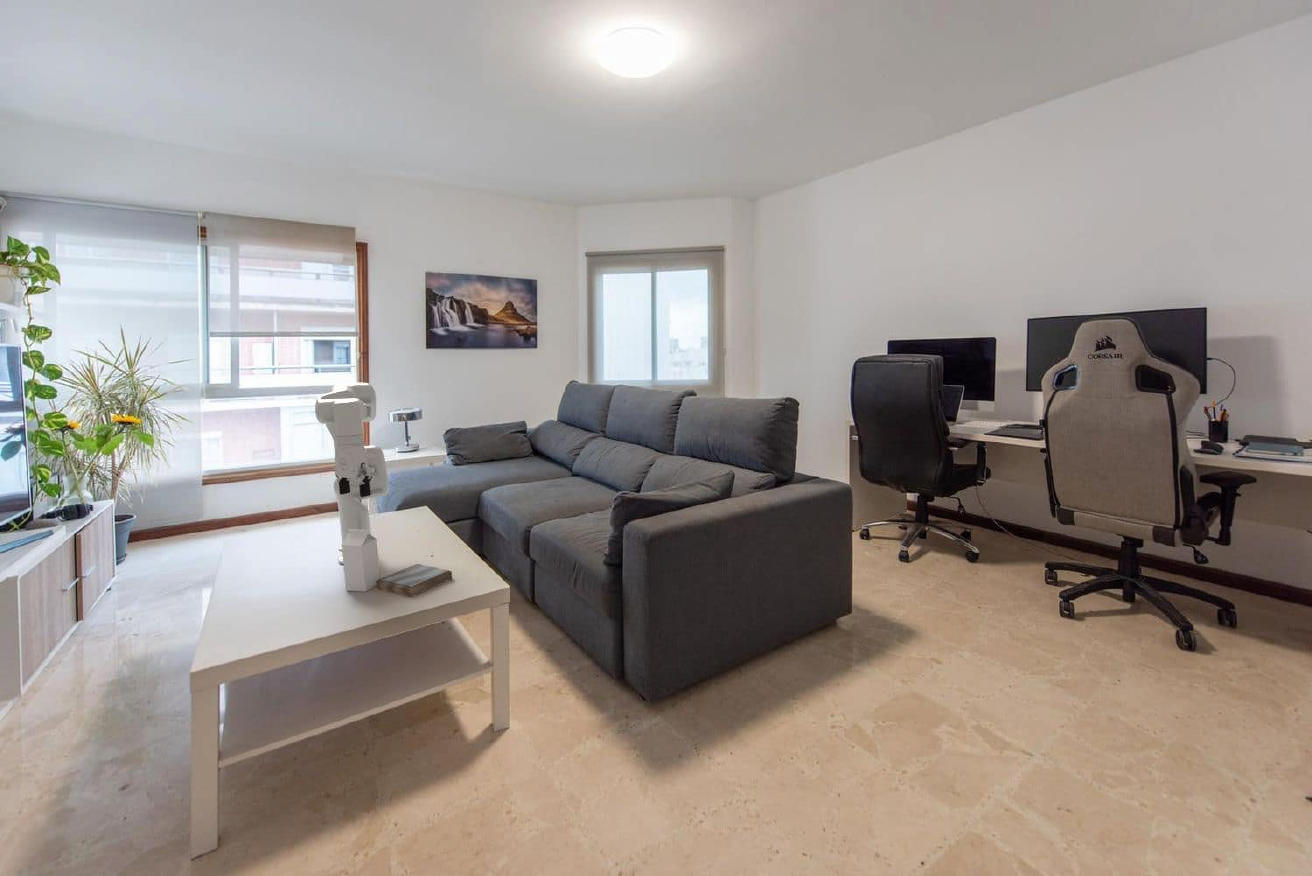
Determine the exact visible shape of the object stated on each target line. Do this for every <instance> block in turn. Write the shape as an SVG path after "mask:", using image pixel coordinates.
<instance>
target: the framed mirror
mask: <svg viewBox="0 0 1312 876" xmlns="http://www.w3.org/2000/svg"><path fill="white" fill-rule="evenodd" d="M447 580H448V581H450V580H453V572H452V570H450V569H445V568H439V567H434V566H429V565H424V564H421V563H420V564H419V563H416V564H414V565H411V566H408V567H405V568H403V569H400V570H398V571H395V572H393V573H390V574H388V575H386V576H383V577H380V579H378V580H377V581H376V589H377V588H378V589H377V590H381V591H386V592H391V593H395V594H399V595H402V594H403V596H406V595H407V596H406V597H411V598H413V597H415V596H418V595H419V594H422V593H424V592H426V591H429V590H430V588H431V589H433V588H435V587H437V586H439V584H440V585H442V584H444V583H446V582H448V581H447ZM445 581H446V582H445ZM443 582H444V583H443ZM441 583H442V584H441ZM432 587H433V588H432ZM414 595H415V596H414ZM412 596H413V597H412Z"/></svg>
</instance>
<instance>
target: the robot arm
mask: <svg viewBox="0 0 1312 876" xmlns="http://www.w3.org/2000/svg"><path fill="white" fill-rule="evenodd" d="M314 410H315V411H314V412H315V413H314V414H315V417H316V419H317V421H318V423H320V424H324V425H326V426H325V427H326V429H327V430H328V432H329V433H330V435H331V437H332V440H333V447H334V466H333V468H332V469H333V472H334V473H335V474H334V475H335V477H336V479H335V480H334V481H333V491H334V495H335V498H336V501H337V507H338V508H337V509H338V516H339V525H340V535H341V544H342V543H343V541H344V540H345V538H346V536H347V534H348V529H357V530H368V533H369V534H370V535H372V532H371V530H372V529H371V520H370V519H371V518H370V511H369V509H368V507H367V506H366V505H365V504H364V503H363V502H362V501H361V500H366V499H367V500H368V499H376V498H383V497H384V496H386V495H387V494H388V492H389V478H388V473H387V467H386V458H385V454H384V452H383V449H382V447H379V446H378V445H365V440H364V426H363V423H369V422H372V421H374V420H375V419H376V415H377V393H376V390H375V388H374V387H373V386H372V385H371V383H369V382H368V383H367V382H354V383H353V382H352V383H340V384H339V383H338V384H336V385H334V386H333V387H331V389H330V391H329V392H328V393H326V394H322V395H320V396H318V397H317V398H316V400H315V403H314ZM338 551H339V552H341V553H342V547H339V549H338ZM338 562H339V563H340V564H342V565H343V555H341V556H340V557H339V558H338Z"/></svg>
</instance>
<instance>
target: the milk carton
mask: <svg viewBox="0 0 1312 876" xmlns="http://www.w3.org/2000/svg"><path fill="white" fill-rule="evenodd" d="M377 541H378V540H377V538H376V537H374V536H373V535H372V534H371V535H370V534H369V533H368V530H357V529H348V534H347V536H346V538H345V540H344V541H343V543H342V542H341V548H342V552H341V554H342V555H341V556H343V564H342V565H343V572H344V584H345V591H349V592H362V593H363V592H368V591H369V590H371V589H373V588H374V587H377V585H376V581H377V580H378V579H380V578H381V576H380V575H381V574H380V564H379V551H378V542H377Z"/></svg>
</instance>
